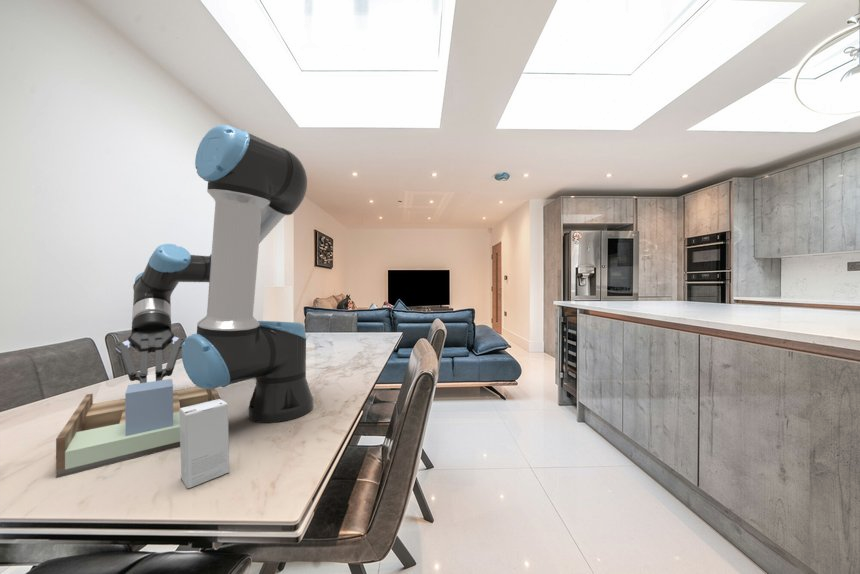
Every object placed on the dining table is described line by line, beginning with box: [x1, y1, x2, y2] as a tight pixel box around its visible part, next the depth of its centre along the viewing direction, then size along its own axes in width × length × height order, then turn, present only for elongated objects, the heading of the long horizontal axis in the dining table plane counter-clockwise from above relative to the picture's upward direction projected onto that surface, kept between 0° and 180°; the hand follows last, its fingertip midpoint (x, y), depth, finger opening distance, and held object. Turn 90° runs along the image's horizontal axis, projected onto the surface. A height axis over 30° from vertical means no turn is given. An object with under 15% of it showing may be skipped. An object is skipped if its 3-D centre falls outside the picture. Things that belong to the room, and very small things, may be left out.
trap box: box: [55, 386, 222, 479], centre depth 73 cm, size 30×24×6 cm
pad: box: [65, 412, 180, 469], centre depth 66 cm, size 10×22×3 cm, turn 130°
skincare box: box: [179, 398, 230, 489], centre depth 54 cm, size 6×4×12 cm
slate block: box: [124, 378, 174, 436], centre depth 66 cm, size 7×7×8 cm
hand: (151, 404), depth 69 cm, fingers closed
